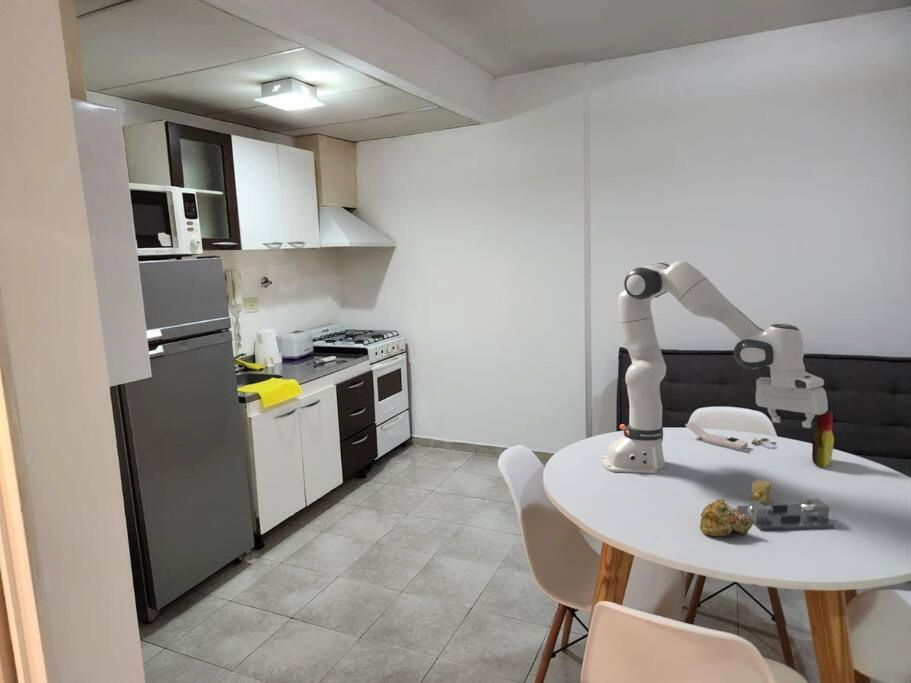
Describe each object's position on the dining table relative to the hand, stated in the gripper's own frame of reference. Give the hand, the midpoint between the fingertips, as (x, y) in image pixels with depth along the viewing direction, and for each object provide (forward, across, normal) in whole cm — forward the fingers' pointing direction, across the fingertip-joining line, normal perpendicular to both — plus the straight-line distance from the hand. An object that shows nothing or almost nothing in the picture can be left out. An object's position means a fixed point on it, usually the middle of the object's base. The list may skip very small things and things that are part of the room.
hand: (791, 425), depth 167 cm
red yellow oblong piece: (+24, -16, +37) cm, 47 cm away
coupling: (+23, -7, -6) cm, 25 cm away
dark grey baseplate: (+24, +4, -11) cm, 27 cm away
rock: (+24, +1, -33) cm, 40 cm away
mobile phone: (+21, -48, +24) cm, 57 cm away
